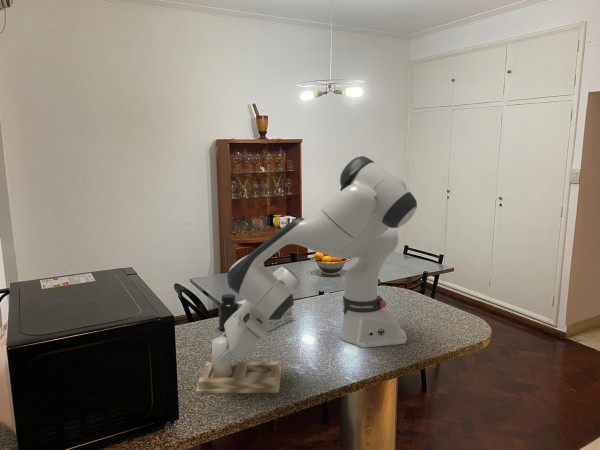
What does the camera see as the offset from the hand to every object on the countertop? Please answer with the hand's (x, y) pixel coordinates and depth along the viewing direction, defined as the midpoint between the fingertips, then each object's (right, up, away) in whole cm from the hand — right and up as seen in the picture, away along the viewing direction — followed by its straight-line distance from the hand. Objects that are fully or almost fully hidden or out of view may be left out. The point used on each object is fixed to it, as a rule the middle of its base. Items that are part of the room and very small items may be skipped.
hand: (219, 353), depth 122 cm
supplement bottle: (-4, -2, +39) cm, 39 cm away
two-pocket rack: (+6, -8, +1) cm, 10 cm away
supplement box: (+9, -1, +43) cm, 43 cm away
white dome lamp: (+1, -7, +1) cm, 7 cm away
